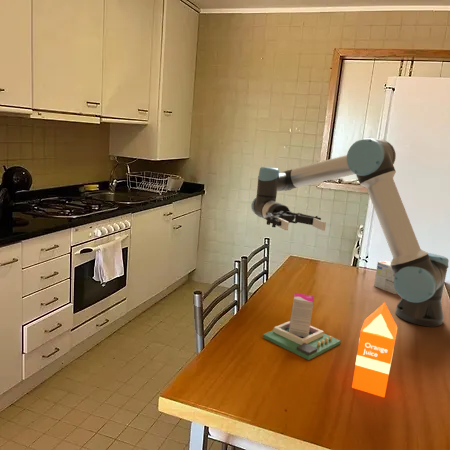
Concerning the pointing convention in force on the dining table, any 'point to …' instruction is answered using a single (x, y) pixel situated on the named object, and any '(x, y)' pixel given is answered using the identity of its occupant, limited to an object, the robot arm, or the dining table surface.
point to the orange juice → (375, 352)
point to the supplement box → (301, 315)
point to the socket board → (302, 341)
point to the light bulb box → (385, 277)
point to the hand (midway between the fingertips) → (306, 226)
